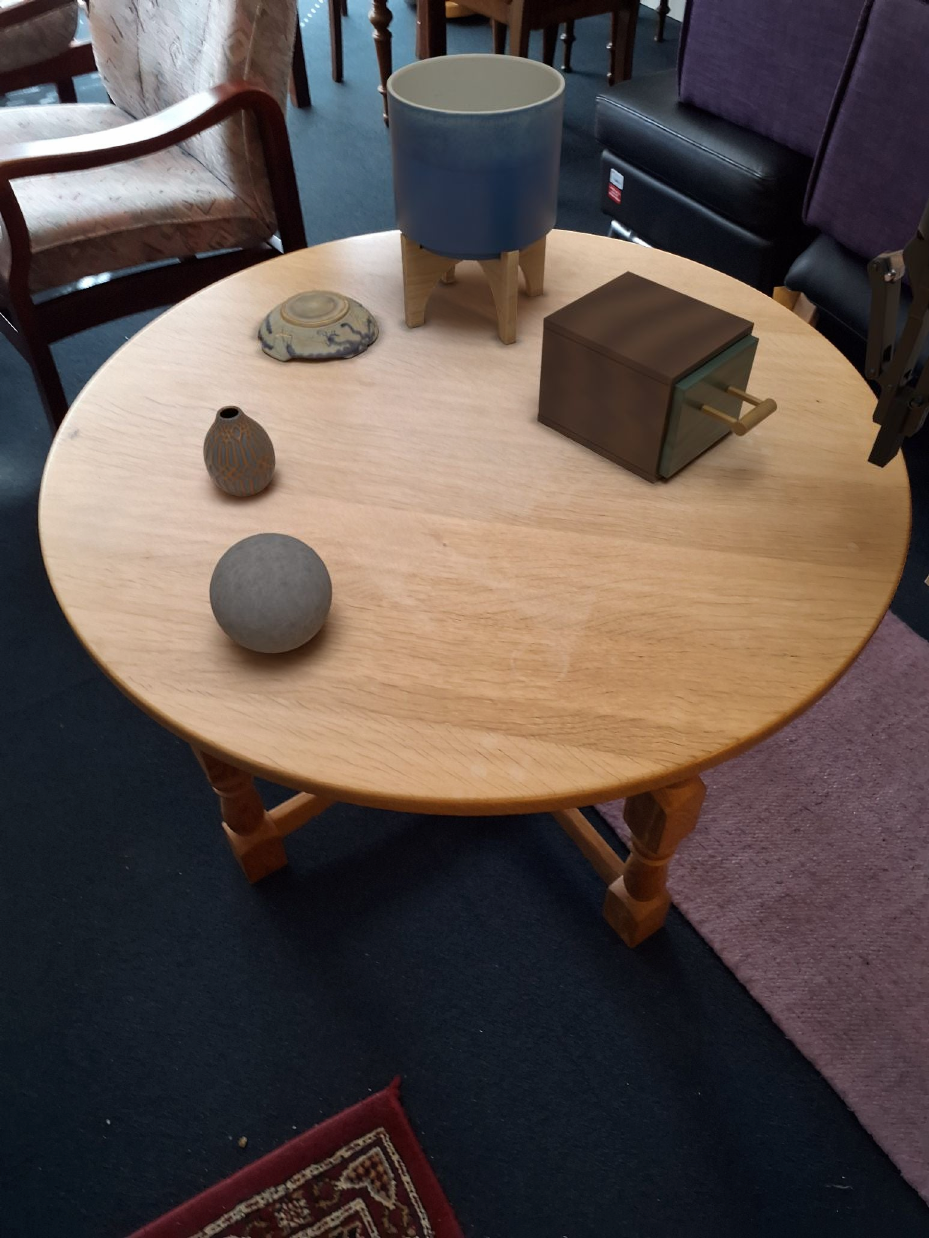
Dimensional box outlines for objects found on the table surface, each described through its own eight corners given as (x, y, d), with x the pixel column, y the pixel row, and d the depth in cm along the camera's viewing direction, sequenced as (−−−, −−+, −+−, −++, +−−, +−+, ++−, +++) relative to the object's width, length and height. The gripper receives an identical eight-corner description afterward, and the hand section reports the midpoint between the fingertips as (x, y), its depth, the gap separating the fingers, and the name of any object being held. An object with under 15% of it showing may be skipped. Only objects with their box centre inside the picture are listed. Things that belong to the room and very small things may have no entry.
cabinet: (729, 426, 98) (754, 322, 89) (653, 483, 91) (672, 378, 82) (615, 371, 105) (628, 270, 96) (537, 420, 99) (543, 318, 90)
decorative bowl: (232, 340, 111) (320, 379, 105) (226, 312, 108) (316, 350, 102) (316, 293, 119) (402, 326, 113) (312, 266, 117) (400, 299, 110)
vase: (274, 506, 90) (258, 433, 83) (206, 506, 90) (185, 433, 83) (284, 463, 94) (270, 391, 88) (219, 463, 94) (200, 391, 88)
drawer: (780, 446, 94) (807, 358, 86) (711, 502, 88) (733, 412, 80) (629, 373, 103) (641, 288, 96) (557, 419, 97) (564, 332, 90)
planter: (578, 325, 113) (599, 93, 93) (440, 363, 107) (432, 125, 88) (506, 261, 124) (512, 44, 105) (378, 292, 119) (359, 69, 99)
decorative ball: (199, 639, 78) (170, 555, 70) (284, 576, 83) (265, 492, 75) (277, 696, 73) (255, 614, 66) (362, 626, 79) (350, 542, 71)
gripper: (880, 174, 64) (795, 446, 81) (1070, 227, 58) (933, 510, 75) (928, 146, 68) (836, 412, 85) (1111, 193, 61) (971, 470, 78)
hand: (882, 457), depth 80 cm, fingers closed
